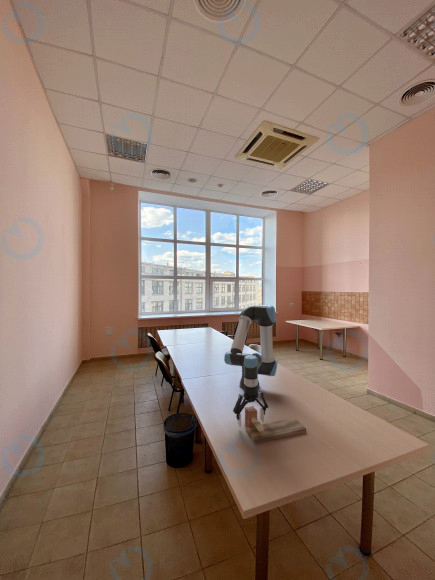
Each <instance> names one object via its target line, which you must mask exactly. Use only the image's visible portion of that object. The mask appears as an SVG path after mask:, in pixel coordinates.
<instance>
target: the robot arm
mask: <svg viewBox="0 0 435 580" xmlns="http://www.w3.org/2000/svg"><path fill="white" fill-rule="evenodd" d="M276 312H277V310H276V308H275V307H274V305H268V304H266V305H265V304H250V305H248V306H247V307H245V308H243V310H242V311H241V312H240V314H239V316H238V319H237V320H238V324H237V328H236V331H235V333H234V337H233V341H232V345H231V347H230V351H226V352H225V354H224V357H223V361H224V363H225V364H226V365H229V366H236V367H241V378H240V380H239V387H240V388H241V389H242V390H243V394H241V393H239V394H238V399H237V400H236V403H235V404H234V407H233V410H232V412H233V413H234V415H236V416H235V417H236V420H237V424H238V426H239V428H240V427H242V414H241V413H242V411H243V410H244V409H245V407H246V405H248V404H249V403H254V402H256V403H257V404H258V405H259V406H260V408H259V411H260V417H259V418H260V421H261V422H262V423H264V422H265V415H266V411H267V409H268V408H269V404H268V403H267V401H266V399H265V396H264V392H262V391H261V390H259V389H260V381H259V375H262V376H267V377H275V376H276V374H277V369H278V363H279V362H278V360H277V359H276V357H275V356H274V350H273V346H274V345H273V342H274V341H273V326H274V325H275V323H276V322H277V313H276ZM252 322H257V325H258V327H259V338H260V353H258V352H254V353H252V354H251V353H243V352H244V349H245V343H246V340H247V338H248V337H247V336H248V331H249V328H250V325H251V324H252ZM258 397H259V398H260V400H261V401H262V403H263V404H262V403H261V401H260V400H259V399H258Z"/></svg>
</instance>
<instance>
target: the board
mask: <svg viewBox="0 0 435 580" xmlns="http://www.w3.org/2000/svg"><path fill="white" fill-rule="evenodd" d="M261 425H262V426H263V428H264V432H262V436H260V432H259V430H258V429H257V428H256V426H252V427H246V431H245V432H246V433H247V435H248V436H249V437H250V439H251V441H252V442H253V443H254V444H260V443H264V442H268V441H273V440H277V439H281V438H287V437H290V436H294V435H295V436H296V435H299V434H303V433H307V427H306V426H304V425H303V424H302V423H301V422H300V421H299V420H298V419H297V418H296V417H293V418H288V419H284V420H277V421H274V422H268V423H263V424H261Z"/></svg>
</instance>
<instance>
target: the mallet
mask: <svg viewBox="0 0 435 580" xmlns="http://www.w3.org/2000/svg"><path fill="white" fill-rule="evenodd" d="M244 426H245V427H246V428H247V427H252V426H256V428H257V429H258V430H259V432H260V436H262V432H264V428H263V426H262V424H261V422H260V421H259V419H258V410H257V408H255V406H254V405H252V406H247V407H246V406H245V407H244Z"/></svg>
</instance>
